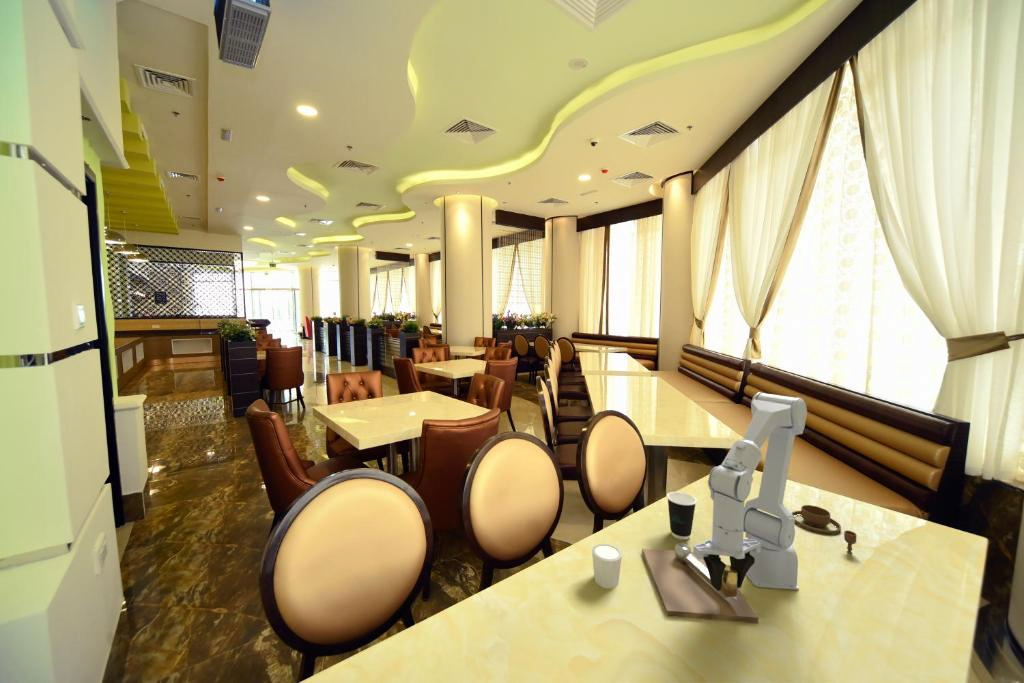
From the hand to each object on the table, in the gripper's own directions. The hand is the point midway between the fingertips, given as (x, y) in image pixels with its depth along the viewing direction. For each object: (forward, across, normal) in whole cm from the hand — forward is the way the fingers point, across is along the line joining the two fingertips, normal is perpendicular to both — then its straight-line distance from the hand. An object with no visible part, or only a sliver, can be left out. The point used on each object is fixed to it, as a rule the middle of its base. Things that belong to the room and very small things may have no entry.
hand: (725, 586), depth 82 cm
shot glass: (+5, -22, +13) cm, 25 cm away
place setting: (+6, +49, +23) cm, 54 cm away
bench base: (+5, -2, +8) cm, 10 cm away
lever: (+3, 0, +8) cm, 8 cm away
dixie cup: (+5, +8, +27) cm, 29 cm away
